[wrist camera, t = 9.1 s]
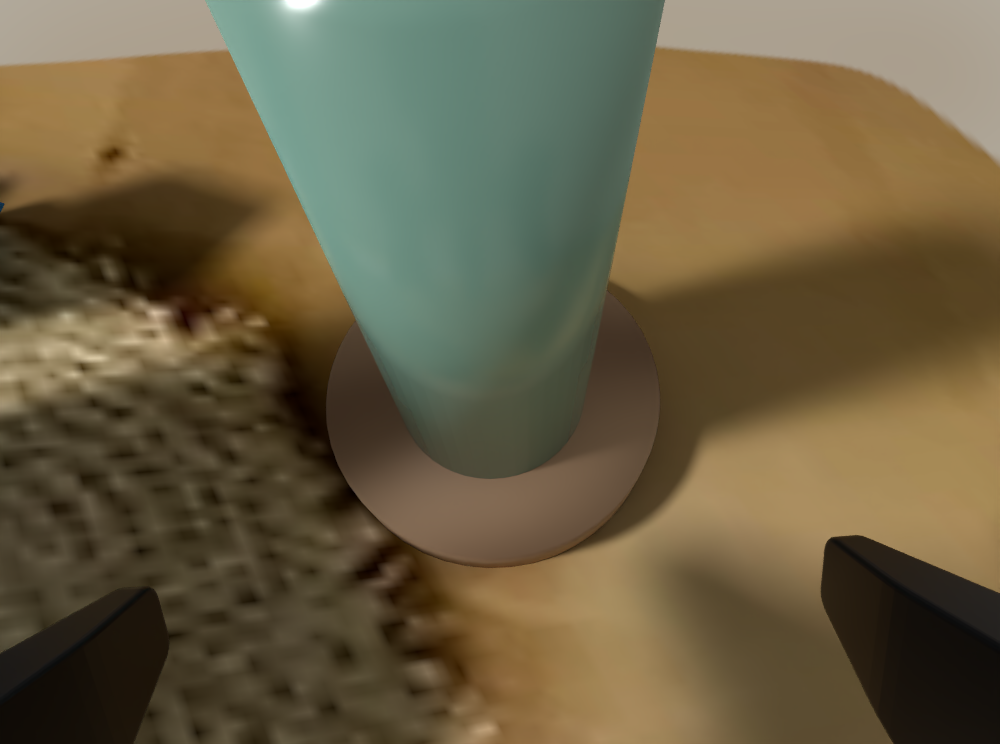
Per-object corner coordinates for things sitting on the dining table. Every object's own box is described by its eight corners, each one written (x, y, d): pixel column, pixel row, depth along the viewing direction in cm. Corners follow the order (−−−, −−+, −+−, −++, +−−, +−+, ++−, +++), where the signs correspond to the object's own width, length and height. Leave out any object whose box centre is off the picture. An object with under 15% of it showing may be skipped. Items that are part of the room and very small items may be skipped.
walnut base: (707, 494, 17) (723, 478, 16) (389, 621, 16) (377, 615, 15) (574, 244, 21) (577, 214, 20) (309, 333, 20) (293, 308, 19)
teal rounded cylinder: (623, 387, 17) (800, -164, 6) (490, 519, 16) (400, 121, 5) (493, 279, 19) (443, -309, 8) (362, 390, 18) (69, -132, 6)
